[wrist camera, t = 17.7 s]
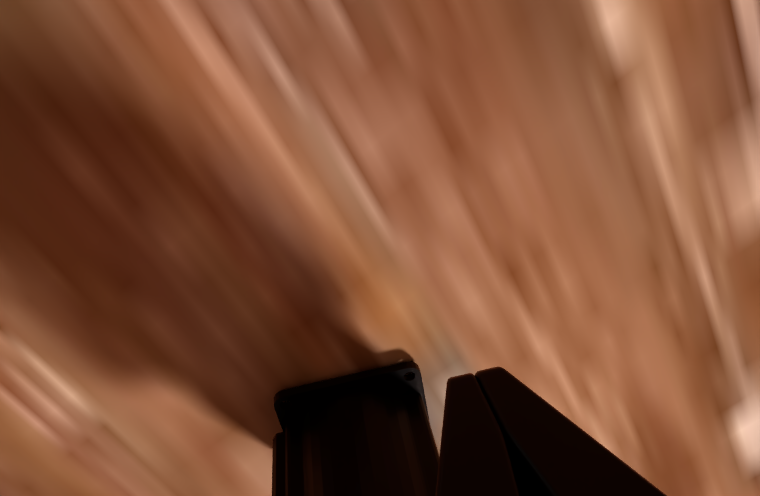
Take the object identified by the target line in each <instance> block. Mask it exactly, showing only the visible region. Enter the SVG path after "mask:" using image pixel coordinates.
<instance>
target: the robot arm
mask: <svg viewBox="0 0 760 496" xmlns="http://www.w3.org/2000/svg"><path fill="white" fill-rule="evenodd" d="M408 372H412V373H411V374H408V375H406V373H408ZM283 401H290V402H287V403H284V402H283ZM274 408H275V411H276V413H277V416H278V419H279V421H280V424H281V427H282V429H283V432H281V433H277V434H276V435H275V437H274V438H273V464H272V496H667V495H665V494H664V493H663V492H661V491H660V490H659V489H658V488H656V487H655V486H654V485H652V484H651V483H650V482H649V481H647V480H646V479H645V478H643V477H642V476H641V475H640V474H638V473H637V472H636V471H635V470H633V469H632V468H631V467H629V466H628V465H627V464H626V463H624V462H623V461H622V460H620V459H619V458H618V457H617V456H615V455H614V454H613V453H611V452H610V451H609V450H608V449H606V448H605V447H604V446H602V445H601V444H600V443H599V442H597V441H596V440H595V439H594V438H592V437H591V436H590V435H588V434H587V433H586V432H585V431H583V430H582V429H581V428H579V427H578V426H577V425H576V424H574V423H573V422H572V421H570V420H569V419H568V418H567V417H565V416H564V415H563V414H561V413H560V412H559V411H558V410H556V409H555V408H554V407H553V406H551V405H550V404H549V403H547V402H546V401H545V400H544V399H542V398H541V397H540V396H538V395H537V394H536V393H535V392H533V391H532V390H531V389H529V388H528V387H527V386H526V385H524V384H523V383H522V382H520V381H519V380H518V379H517V378H515V377H514V376H513V375H512V374H510V373H509V372H508V371H506V370H505V369H504V368H502V367H494V368H490V369H485V370H481V371H478V372H477V373H476V374H475V376H474V375H473V374H472V373H468V374H464V375H459V376H455V377H451V378H449V379H448V381H447V388H446V398H445V407H444V417H443V427H442V437H441V447H440V457H439V454H438V450H437V447H436V443H435V440H434V436H433V433H432V429H431V426H430V422H429V417H428V411H427V406H426V400H425V394H424V389H423V383H422V377H421V373H420V369H419V367H418V365H417V364H416V363H415V362H411V361H410V362H403V363H399V364H395V365H390V366H386V367H382V368H377V369H373V370H369V371H364V372H360V373H355V374H351V375H347V376H342V377H338V378H334V379H329V380H325V381H321V382H316V383H312V384H308V385H303V386H299V387H295V388H290V389H286V390H282V391H280V392H278V393H277V394H276V395H275V397H274Z"/></svg>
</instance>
